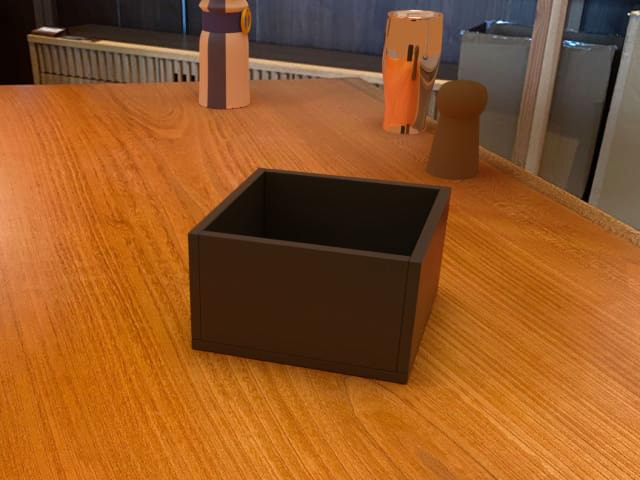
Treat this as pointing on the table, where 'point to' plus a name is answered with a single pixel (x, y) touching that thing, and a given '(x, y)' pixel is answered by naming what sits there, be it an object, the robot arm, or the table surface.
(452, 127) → the cork
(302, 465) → the table surface
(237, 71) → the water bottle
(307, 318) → the bin
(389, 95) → the beer glass
